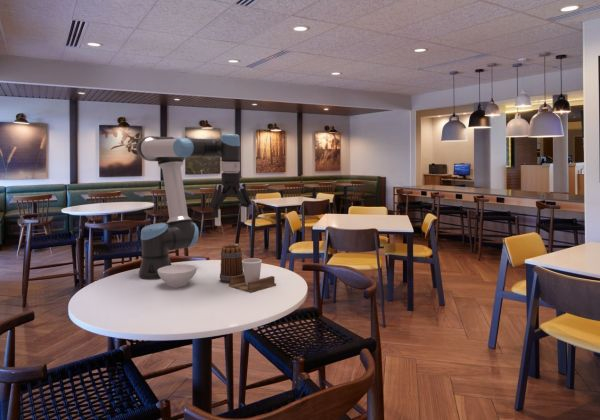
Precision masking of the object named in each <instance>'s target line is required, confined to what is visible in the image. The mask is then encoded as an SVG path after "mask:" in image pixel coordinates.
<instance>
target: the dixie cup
mask: <svg viewBox="0 0 600 420" xmlns="http://www.w3.org/2000/svg"><path fill="white" fill-rule="evenodd" d="M262 261H263V259H261V258H255V257H251V258H249V257H248V258H244V259H242V264H243V272H244V277H245V283H246V285H248V282H251V281H254V280H258V279H261V270H262V269H261V268H262V263H263V262H262Z"/></svg>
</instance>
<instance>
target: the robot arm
mask: <svg viewBox="0 0 600 420" xmlns="http://www.w3.org/2000/svg"><path fill="white" fill-rule="evenodd" d="M220 135H221V136H220V138H217V139H216V138H215V139H213V138H194V137H193V138H192V137H191V138H189V137H175V136H174V137H173V136H153V135H148V136H145V137H143V138H140V139H139V140H138V142H137V144H136V147H135V148H136V153H137V155H138V156H139V157H140V159H142V160H145V161H149V162H157V165H158V167H159V169H161V170H162V177H163V182H164V183H163V184H164V189H165V191H164V192H165V196H166V198H165V199H166V202H167V211H168V217H169V218H168V220H167V221H166V223H165V222H159V223H153V224H148V225H146V226H144V227H142V229H141V230H140V231H141V232H140V243H141V258H142V259H141V263H140V267H139V270H138V278H140V279H143V280H159V279H161V278H160V276H159V275H158V271H157V270H158V269H159V268H161V267H165V266H170V265H172V261H171V259H170V255H169V254H170V253H169V252H170V251H174V250H175V251H176V250H181V249H182V250H183V249H188V248H191V247H193V246H195V245H196V244H197V242H198V240H199V234H200V232H199V231H200V230H199V227H198V226H197V223H195V222H193V219H192V218H191V217H189V215H188V207H187V201H186V196H185V195H186V194H185V188H184V181H183V174H182V168H181V167H183V165H184V161H185V160H186V159H187V158H221V159H220V164H221V166H220V167H221V168H220V169H221V170H220V171H221V172H222V173H221V182H222V184H215V188H214V192H213V195H212V197H211V200H210V203H209V206H208V207H209V209H212V210H213V213H212V214H213V218H214V226H215V227H216V226H217V227H221V226H222V225H221V224H222V223H221V220H222V219H221V216H222V215H221V208H220V207H221V206H222V205H223V202H224V201H225V200H226V198H227V197H229V196H235V197H236V198H237V200H238V202H240V204H241V205H242V206H240V222H241V223H247V217H248V216H247V215H248V209H249V207H250V206H251V205H252V201H251V198H250V196H249V195H250V194H248V190H247V187H246V186H247V185H246V183H242V182H241V173H240V171H241V141H240V140H241V139H240V135H239V134H236V133H222V134H220ZM240 182H241V183H240Z"/></svg>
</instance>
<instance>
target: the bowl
mask: <svg viewBox="0 0 600 420" xmlns="http://www.w3.org/2000/svg"><path fill="white" fill-rule="evenodd" d="M157 271H158V275H159V276H160V279H161V280H162V281H163V282H164V283H165V284H166V285H167V286H168V287H170V288H182V287H186V286H187V285H188V283H189V282H190V281H191V280H192V278H193V277H194V276H195V274H196V272H197V265H193V264H186V263H185V264H182V263H181V264H171V265H170V266H165V267H161V268H159V269H158V270H157Z"/></svg>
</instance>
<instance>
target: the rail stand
mask: <svg viewBox="0 0 600 420" xmlns="http://www.w3.org/2000/svg"><path fill="white" fill-rule="evenodd" d="M275 278H276V277H275V276H274V275H271V276H267V277H263V278H260V279H258V280H254V281H251V282H248V285H246V283H245V277H244V274H242V275H238V276H233V277H230V283H228V287H229V288H233V289H236V290H240V291H243V292H246V293H254V292H258V291H261V290H265V289H269V288H272V287H276V286H277V283H275Z"/></svg>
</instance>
